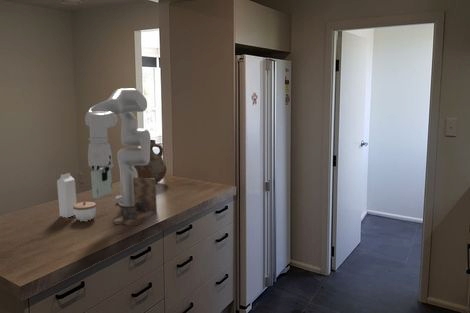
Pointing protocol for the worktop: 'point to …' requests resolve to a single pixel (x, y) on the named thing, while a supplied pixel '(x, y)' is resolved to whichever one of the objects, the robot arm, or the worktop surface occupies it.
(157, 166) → the jug
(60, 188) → the milk
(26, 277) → the worktop surface
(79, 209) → the lidded jar
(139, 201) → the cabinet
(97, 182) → the door
